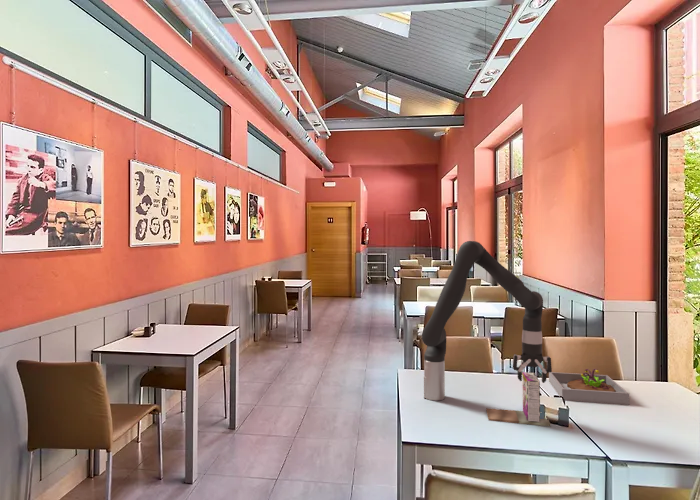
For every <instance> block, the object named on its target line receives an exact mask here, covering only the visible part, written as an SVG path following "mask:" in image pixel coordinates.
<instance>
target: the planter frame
mask: <svg viewBox="0 0 700 500" xmlns="http://www.w3.org/2000/svg"><path fill="white" fill-rule="evenodd" d="M581 374H582V373H576V372H575V373H574V372H573V373H572V372H571V373H570V372H557V371H556V372H555V371H552V372H549V373H548V382H549V384H550V385H551V387H552V388H553V389H554V391H555V392H556V394H557V395H558V396H559V397H560V396H562V397H564V399H565V400H564V401H571V402H584V403H585V402H586V403H596V404H597V403H598V404H601V403H602V404H610V405H611V404H613V405H624V406H626V405H627V406H629V405H630V393H629V392H628V391H627V390H625V388H624V387H623V386H621V385H620V384H618V383H617V382H616V381H615V380H614V379H612V378H611V377H610V376H609V375H608V374H594V376H595V377H598V378H599V379H598V381H600V380H604V381H603V383H606V384H607V385H611V386H612V387H613V388H614V389H615V391H616V392H609V391H594V390H579V389H571V388H565V387H563V385H562V384H567V383H568V382H570V381H575V380H578V379H584V378H583V377H582V376H581ZM588 374H589V375H590V373H588ZM587 376H588V375H587V374H585V375H584V377H586V378H587Z"/></svg>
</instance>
